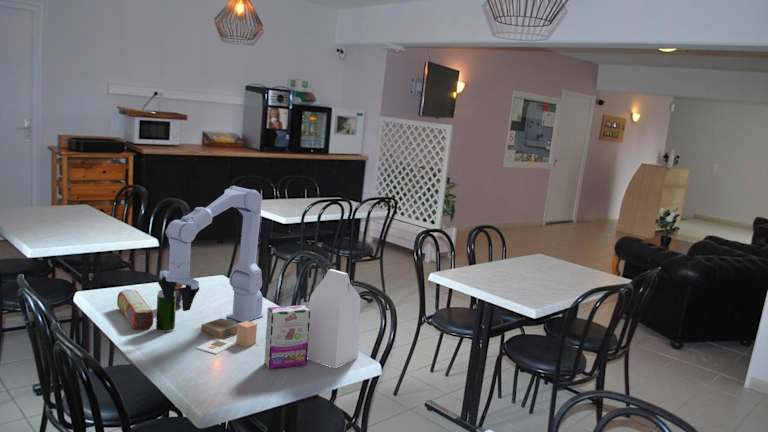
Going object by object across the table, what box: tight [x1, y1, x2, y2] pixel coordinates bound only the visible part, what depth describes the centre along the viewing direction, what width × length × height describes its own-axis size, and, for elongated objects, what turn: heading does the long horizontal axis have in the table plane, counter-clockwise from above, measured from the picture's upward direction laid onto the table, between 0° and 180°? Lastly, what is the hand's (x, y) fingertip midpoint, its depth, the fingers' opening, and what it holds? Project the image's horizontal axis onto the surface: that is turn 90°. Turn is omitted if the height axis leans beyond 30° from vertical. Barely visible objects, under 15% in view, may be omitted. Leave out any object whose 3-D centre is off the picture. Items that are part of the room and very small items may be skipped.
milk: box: [307, 268, 361, 369], centre depth 176 cm, size 12×12×26 cm
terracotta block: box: [235, 321, 258, 348], centre depth 181 cm, size 4×4×6 cm
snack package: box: [116, 288, 155, 331], centre depth 191 cm, size 21×7×7 cm, turn 35°
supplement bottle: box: [175, 283, 184, 311], centre depth 203 cm, size 6×6×11 cm
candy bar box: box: [264, 304, 310, 370], centre depth 169 cm, size 11×5×16 cm, turn 117°
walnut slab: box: [200, 318, 238, 340], centre depth 187 cm, size 8×8×3 cm
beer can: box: [155, 289, 176, 333], centre depth 184 cm, size 5×5×12 cm
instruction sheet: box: [195, 338, 237, 355], centre depth 177 cm, size 9×7×1 cm
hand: (177, 306), depth 177 cm, fingers open, 7 cm apart
